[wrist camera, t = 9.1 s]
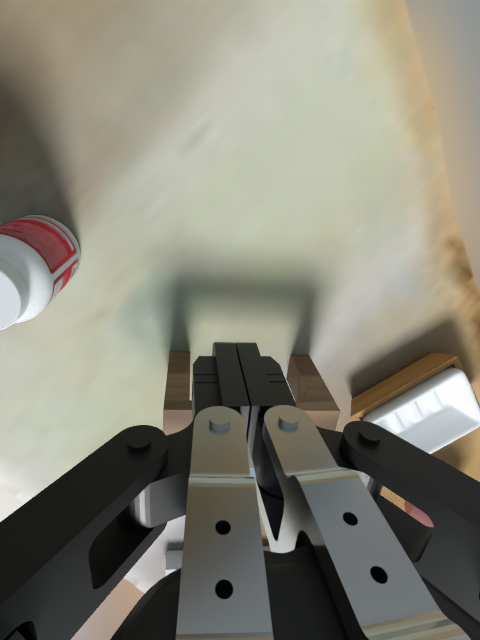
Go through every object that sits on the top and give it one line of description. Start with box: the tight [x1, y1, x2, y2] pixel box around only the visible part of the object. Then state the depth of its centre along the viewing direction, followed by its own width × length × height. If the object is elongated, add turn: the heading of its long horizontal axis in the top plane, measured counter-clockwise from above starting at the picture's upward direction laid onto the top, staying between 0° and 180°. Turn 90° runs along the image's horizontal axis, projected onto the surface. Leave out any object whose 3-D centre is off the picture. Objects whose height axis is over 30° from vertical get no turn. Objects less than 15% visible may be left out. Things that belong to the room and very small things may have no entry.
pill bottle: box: [0, 215, 80, 330], centre depth 27 cm, size 6×6×11 cm
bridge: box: [163, 351, 340, 435], centre depth 35 cm, size 3×14×9 cm, turn 84°
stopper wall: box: [166, 546, 270, 576], centre depth 50 cm, size 2×14×2 cm, turn 84°
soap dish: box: [351, 353, 480, 454], centre depth 41 cm, size 12×10×5 cm
